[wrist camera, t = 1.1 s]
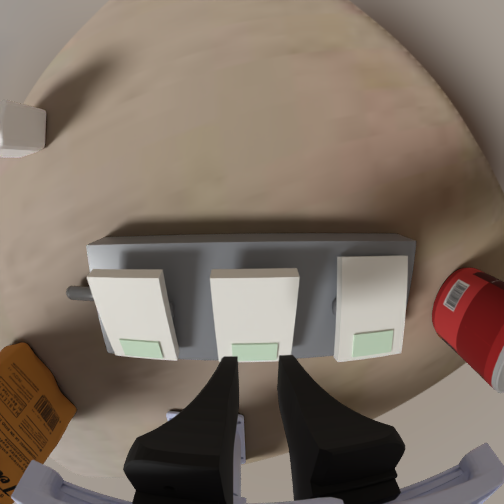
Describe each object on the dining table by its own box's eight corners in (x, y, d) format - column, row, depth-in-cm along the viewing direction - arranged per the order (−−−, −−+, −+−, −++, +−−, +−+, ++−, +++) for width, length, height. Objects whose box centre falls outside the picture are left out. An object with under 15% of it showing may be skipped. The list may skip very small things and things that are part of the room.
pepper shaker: (49, 108, 18) (-23, 89, 9) (47, 149, 19) (-30, 145, 10) (21, 120, 18) (-48, 109, 9) (19, 159, 19) (-53, 160, 10)
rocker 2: (286, 340, 21) (290, 362, 19) (220, 342, 21) (218, 363, 19) (294, 259, 18) (299, 278, 16) (213, 260, 18) (209, 279, 16)
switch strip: (383, 330, 24) (397, 347, 21) (84, 331, 23) (69, 347, 20) (397, 233, 21) (416, 241, 19) (66, 238, 21) (46, 246, 18)
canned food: (425, 344, 24) (484, 408, 14) (433, 272, 22) (514, 322, 12) (474, 325, 24) (533, 373, 14) (483, 259, 22) (558, 294, 12)
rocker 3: (389, 344, 20) (402, 353, 17) (329, 351, 19) (338, 363, 17) (393, 255, 19) (408, 255, 17) (332, 256, 19) (342, 257, 17)
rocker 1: (181, 341, 21) (177, 362, 19) (123, 337, 21) (115, 356, 19) (166, 261, 18) (157, 279, 16) (99, 261, 17) (85, 278, 16)
